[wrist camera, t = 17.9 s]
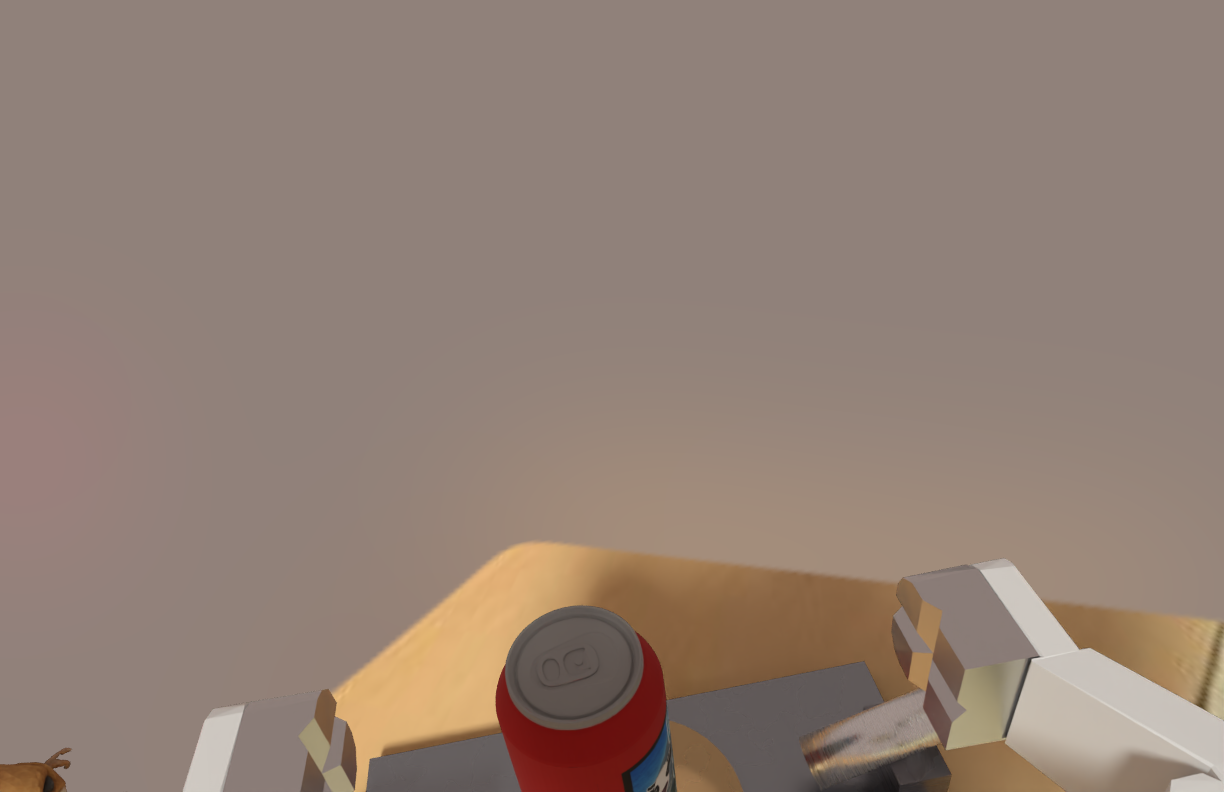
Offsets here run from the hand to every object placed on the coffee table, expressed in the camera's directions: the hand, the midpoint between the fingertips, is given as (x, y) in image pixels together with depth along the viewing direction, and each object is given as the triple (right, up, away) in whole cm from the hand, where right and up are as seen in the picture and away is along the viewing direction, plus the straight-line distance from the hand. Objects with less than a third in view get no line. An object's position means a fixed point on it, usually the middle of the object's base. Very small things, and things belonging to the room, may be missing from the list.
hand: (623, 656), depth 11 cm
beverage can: (0, -16, +26) cm, 31 cm away
